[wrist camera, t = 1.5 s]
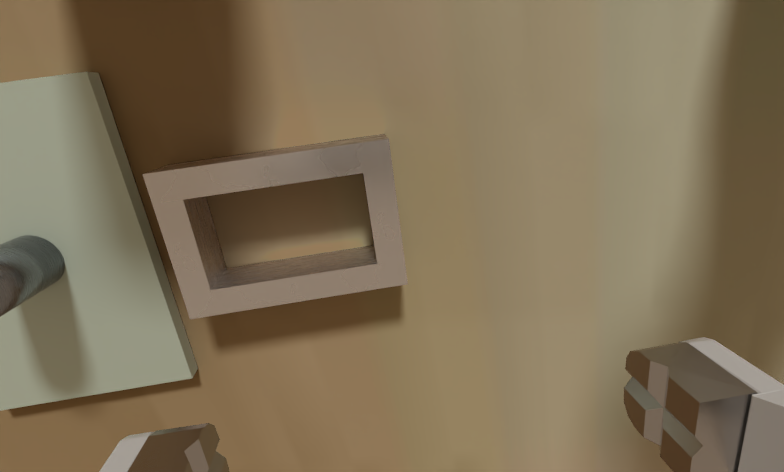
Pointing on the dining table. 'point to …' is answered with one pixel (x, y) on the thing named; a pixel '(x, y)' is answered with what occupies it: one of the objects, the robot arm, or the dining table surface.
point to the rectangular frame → (282, 277)
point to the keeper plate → (81, 252)
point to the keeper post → (27, 269)
